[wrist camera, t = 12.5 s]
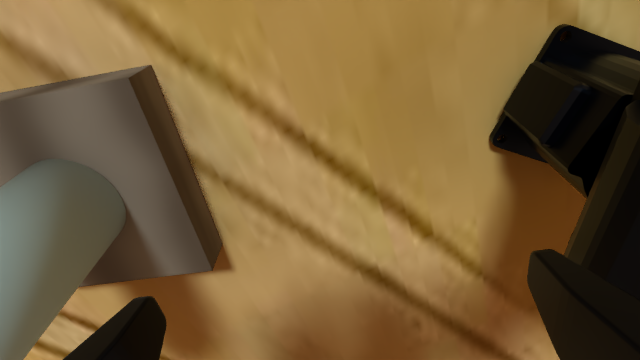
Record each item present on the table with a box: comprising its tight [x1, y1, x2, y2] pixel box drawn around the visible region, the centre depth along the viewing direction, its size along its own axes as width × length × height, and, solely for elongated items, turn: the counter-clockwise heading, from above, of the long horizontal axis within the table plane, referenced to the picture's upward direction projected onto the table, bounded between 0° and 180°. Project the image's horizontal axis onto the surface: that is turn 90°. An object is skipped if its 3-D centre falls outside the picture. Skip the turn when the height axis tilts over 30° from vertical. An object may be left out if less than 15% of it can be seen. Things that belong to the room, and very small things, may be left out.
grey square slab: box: [0, 65, 222, 287], centre depth 22 cm, size 12×12×2 cm
